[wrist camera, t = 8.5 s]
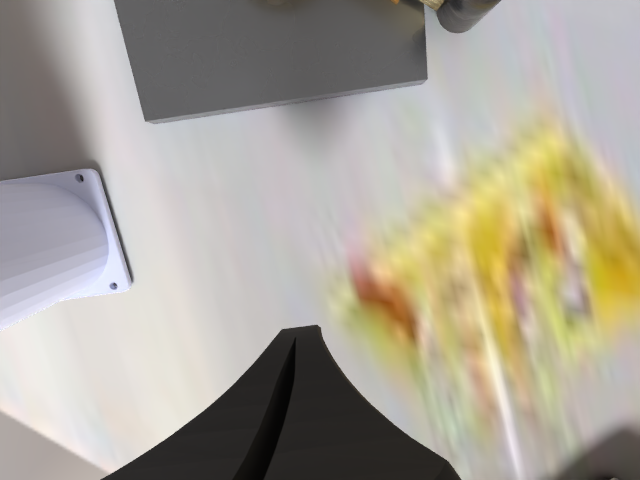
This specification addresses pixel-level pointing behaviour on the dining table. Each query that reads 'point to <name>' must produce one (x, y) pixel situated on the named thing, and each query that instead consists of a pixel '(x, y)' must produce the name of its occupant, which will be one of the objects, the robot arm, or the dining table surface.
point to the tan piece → (460, 12)
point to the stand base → (267, 52)
